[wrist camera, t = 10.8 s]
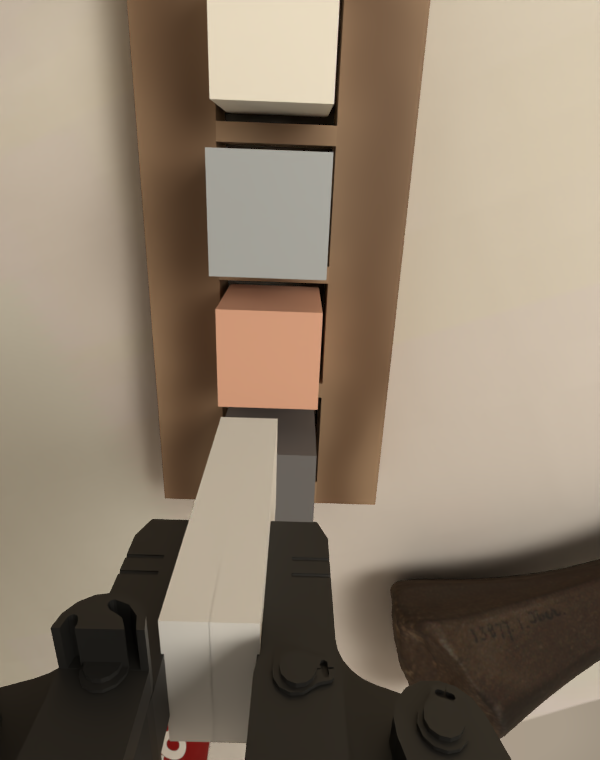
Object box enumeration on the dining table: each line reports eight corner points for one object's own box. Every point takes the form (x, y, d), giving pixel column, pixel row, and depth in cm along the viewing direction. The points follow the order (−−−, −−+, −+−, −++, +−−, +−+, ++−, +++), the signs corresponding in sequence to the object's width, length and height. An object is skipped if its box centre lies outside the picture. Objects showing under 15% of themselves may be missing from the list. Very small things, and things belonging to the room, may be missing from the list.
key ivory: (228, 113, 23) (209, 98, 18) (226, -8, 21) (205, -57, 16) (327, 117, 23) (333, 104, 18) (333, -3, 21) (342, -51, 17)
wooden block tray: (176, 469, 32) (164, 498, 29) (143, -47, 22) (120, -78, 19) (368, 475, 32) (375, 504, 29) (420, -35, 22) (437, -64, 20)
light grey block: (226, 255, 24) (208, 276, 19) (224, 151, 22) (204, 147, 18) (321, 258, 24) (326, 280, 19) (326, 155, 22) (333, 152, 18)
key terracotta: (231, 366, 27) (218, 406, 23) (230, 283, 26) (215, 309, 21) (314, 369, 27) (317, 409, 23) (318, 287, 26) (322, 312, 21)
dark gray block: (230, 475, 28) (217, 535, 24) (229, 403, 27) (214, 452, 22) (310, 478, 28) (312, 538, 24) (313, 406, 27) (316, 455, 22)
